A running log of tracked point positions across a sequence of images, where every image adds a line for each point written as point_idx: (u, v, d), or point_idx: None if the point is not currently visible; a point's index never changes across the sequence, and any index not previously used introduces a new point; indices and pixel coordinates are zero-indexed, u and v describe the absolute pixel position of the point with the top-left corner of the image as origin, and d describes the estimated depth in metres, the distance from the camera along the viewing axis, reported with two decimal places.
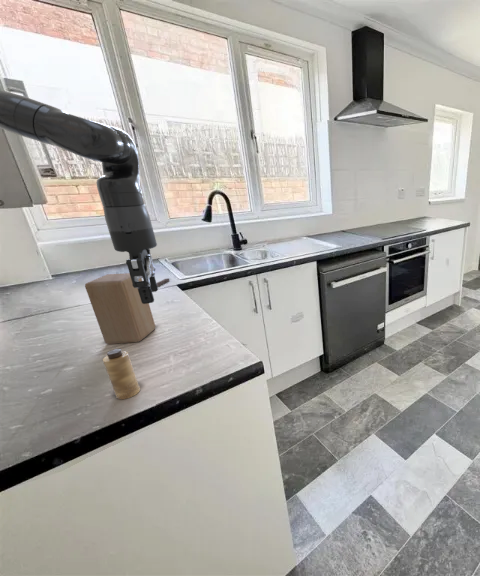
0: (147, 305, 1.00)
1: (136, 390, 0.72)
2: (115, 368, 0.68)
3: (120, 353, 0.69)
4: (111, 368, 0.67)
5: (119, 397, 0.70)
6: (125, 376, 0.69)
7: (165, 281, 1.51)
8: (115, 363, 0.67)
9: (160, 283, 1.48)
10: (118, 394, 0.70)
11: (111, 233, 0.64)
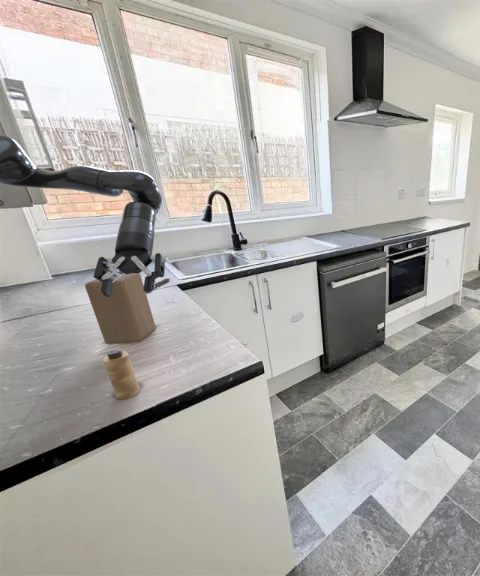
0: (147, 305, 1.00)
1: (136, 390, 0.72)
2: (115, 368, 0.68)
3: (120, 353, 0.69)
4: (111, 368, 0.67)
5: (119, 397, 0.70)
6: (125, 376, 0.69)
7: (165, 281, 1.51)
8: (115, 363, 0.67)
9: (160, 283, 1.48)
10: (118, 394, 0.70)
11: None
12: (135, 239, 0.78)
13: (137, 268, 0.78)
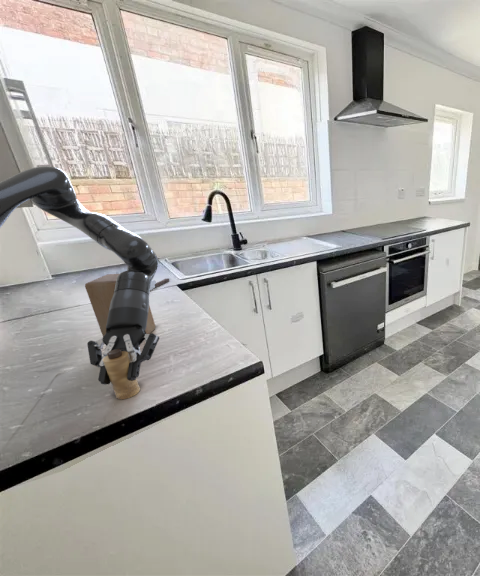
0: None
1: (136, 390, 0.72)
2: (115, 368, 0.68)
3: (120, 353, 0.69)
4: (111, 368, 0.67)
5: (119, 397, 0.70)
6: (125, 376, 0.69)
7: (165, 281, 1.51)
8: (115, 364, 0.67)
9: (160, 283, 1.48)
10: (118, 394, 0.70)
11: None
12: (128, 316, 0.72)
13: None
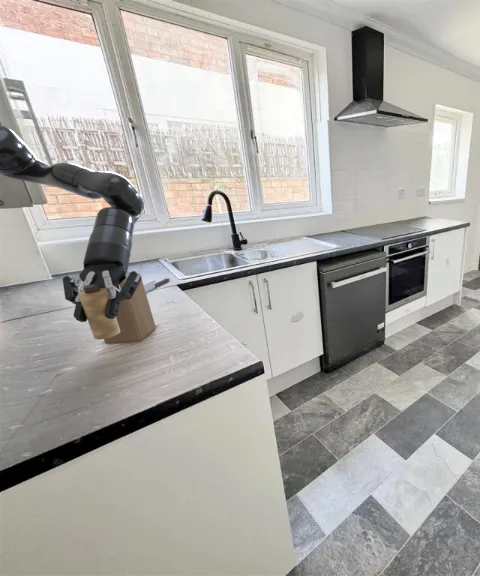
0: (147, 305, 1.00)
1: (116, 331, 0.67)
2: (92, 302, 0.62)
3: (97, 288, 0.64)
4: (87, 303, 0.62)
5: (96, 336, 0.65)
6: (103, 313, 0.64)
7: (165, 281, 1.51)
8: (91, 298, 0.62)
9: (160, 283, 1.48)
10: (95, 332, 0.64)
11: None
12: (107, 251, 0.67)
13: None
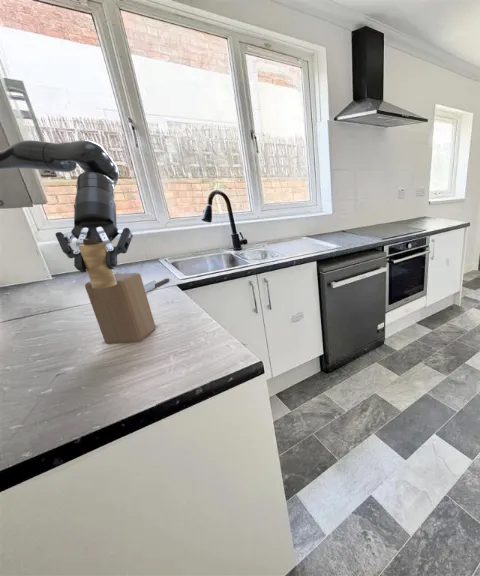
0: (147, 305, 1.00)
1: (114, 282, 0.73)
2: (94, 253, 0.69)
3: (97, 240, 0.70)
4: (89, 253, 0.68)
5: (97, 286, 0.71)
6: (104, 264, 0.71)
7: (165, 281, 1.51)
8: (93, 248, 0.69)
9: (160, 283, 1.48)
10: (96, 282, 0.70)
11: None
12: (99, 209, 0.73)
13: None
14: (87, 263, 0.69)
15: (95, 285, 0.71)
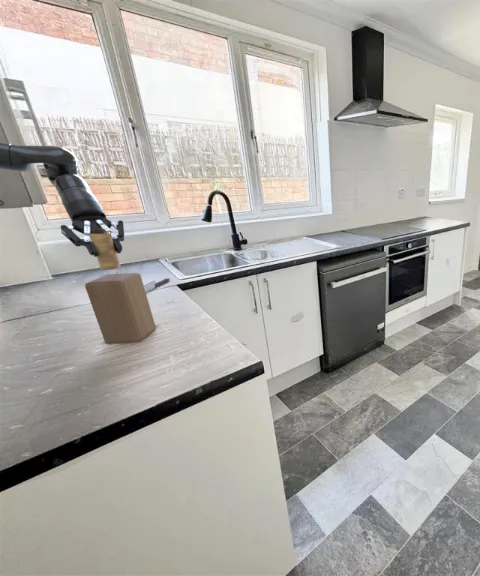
0: (147, 305, 1.00)
1: (119, 264, 0.90)
2: (106, 240, 0.85)
3: (104, 230, 0.86)
4: (103, 240, 0.85)
5: (108, 267, 0.87)
6: (113, 249, 0.87)
7: (165, 281, 1.51)
8: (106, 236, 0.85)
9: (160, 283, 1.48)
10: (107, 264, 0.86)
11: None
12: (94, 205, 0.88)
13: (105, 230, 0.88)
14: (100, 248, 0.85)
15: (106, 267, 0.86)
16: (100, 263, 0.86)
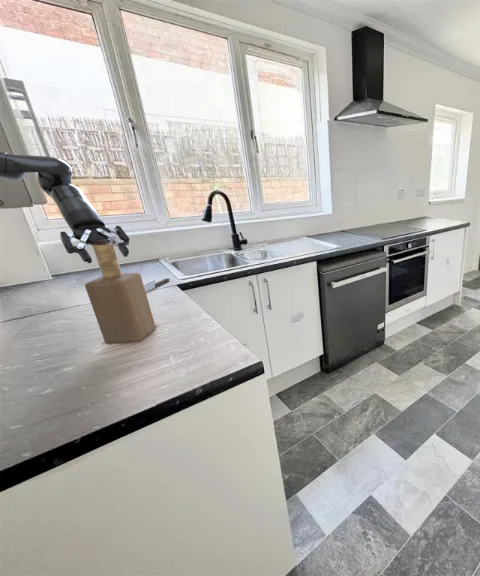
0: (147, 305, 1.00)
1: (121, 273, 0.94)
2: (109, 250, 0.89)
3: None
4: (106, 251, 0.88)
5: (112, 277, 0.91)
6: (115, 259, 0.91)
7: (165, 281, 1.51)
8: (109, 247, 0.89)
9: (160, 283, 1.48)
10: (110, 273, 0.90)
11: None
12: (93, 214, 0.91)
13: (105, 238, 0.91)
14: (103, 259, 0.89)
15: (110, 276, 0.90)
16: (103, 273, 0.90)
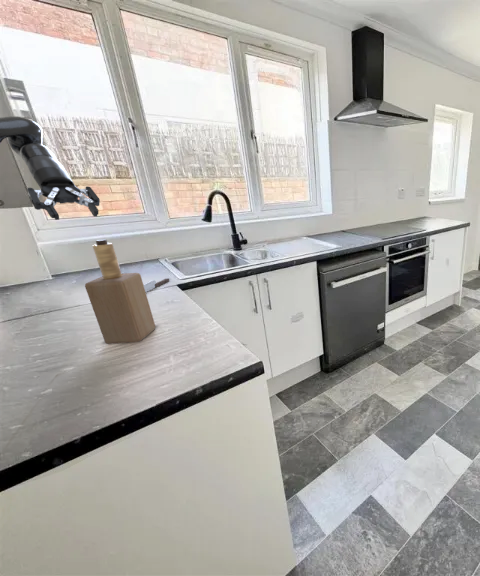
0: (147, 305, 1.00)
1: (121, 273, 0.94)
2: (109, 250, 0.89)
3: None
4: (106, 251, 0.88)
5: (112, 276, 0.91)
6: (115, 259, 0.91)
7: (165, 281, 1.51)
8: (109, 247, 0.89)
9: (160, 283, 1.48)
10: (110, 273, 0.90)
11: None
12: (62, 173, 0.91)
13: (74, 197, 0.92)
14: (103, 259, 0.89)
15: (110, 276, 0.90)
16: (103, 273, 0.90)
